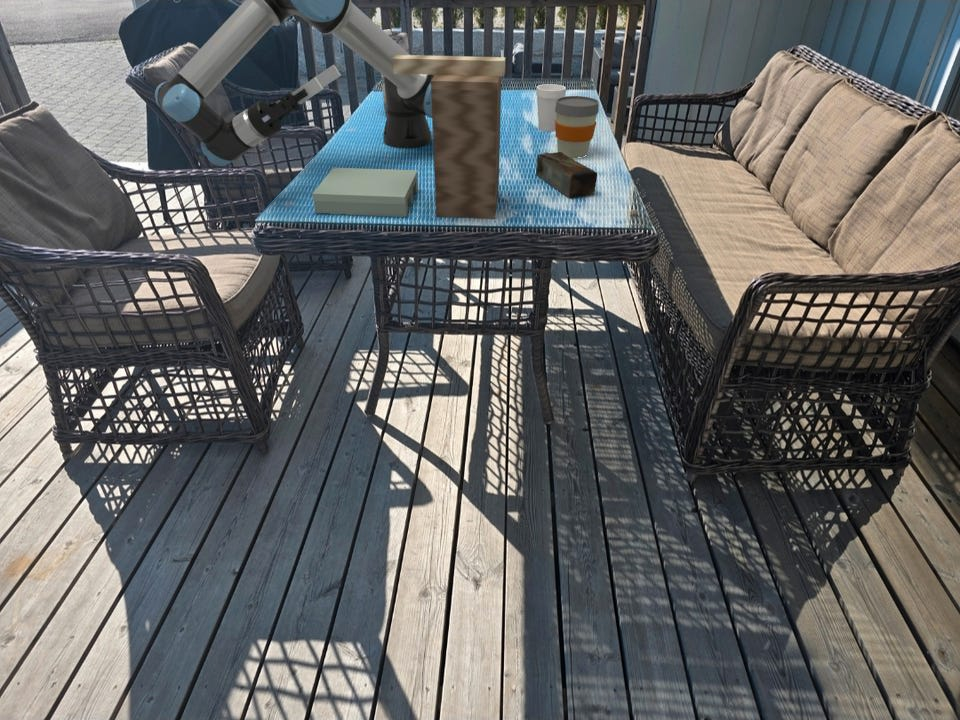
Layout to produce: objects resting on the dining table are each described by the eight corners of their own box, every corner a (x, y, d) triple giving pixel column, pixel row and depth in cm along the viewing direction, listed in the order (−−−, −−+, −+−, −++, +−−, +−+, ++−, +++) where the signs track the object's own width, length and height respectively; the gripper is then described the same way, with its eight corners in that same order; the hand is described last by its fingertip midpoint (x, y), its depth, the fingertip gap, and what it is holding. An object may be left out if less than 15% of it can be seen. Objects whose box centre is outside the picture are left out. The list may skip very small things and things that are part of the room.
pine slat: (393, 73, 130) (392, 58, 128) (397, 69, 133) (396, 54, 131) (504, 76, 128) (504, 60, 126) (505, 72, 131) (505, 57, 129)
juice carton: (414, 111, 217) (409, 27, 201) (408, 119, 209) (402, 32, 192) (390, 110, 218) (383, 27, 202) (383, 118, 209) (375, 31, 193)
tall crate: (436, 216, 142) (430, 80, 124) (444, 191, 155) (440, 65, 137) (494, 218, 141) (497, 82, 123) (498, 193, 154) (501, 66, 136)
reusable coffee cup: (544, 155, 179) (547, 102, 170) (563, 144, 187) (568, 93, 178) (582, 163, 173) (588, 109, 164) (600, 152, 182) (606, 99, 173)
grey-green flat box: (315, 213, 143) (312, 193, 140) (336, 186, 158) (333, 167, 155) (406, 217, 142) (404, 197, 139) (418, 189, 156) (417, 170, 153)
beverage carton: (559, 172, 168) (562, 148, 164) (596, 196, 154) (599, 170, 150) (534, 175, 166) (536, 151, 162) (569, 200, 151) (572, 175, 148)
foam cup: (558, 134, 196) (562, 91, 188) (531, 131, 198) (533, 89, 191) (564, 126, 203) (568, 85, 195) (538, 123, 206) (541, 83, 198)
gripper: (287, 123, 152) (353, 80, 144) (247, 154, 132) (321, 106, 124) (267, 95, 148) (334, 50, 141) (224, 123, 128) (298, 71, 121)
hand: (328, 76), depth 133 cm, fingers open, 13 cm apart
